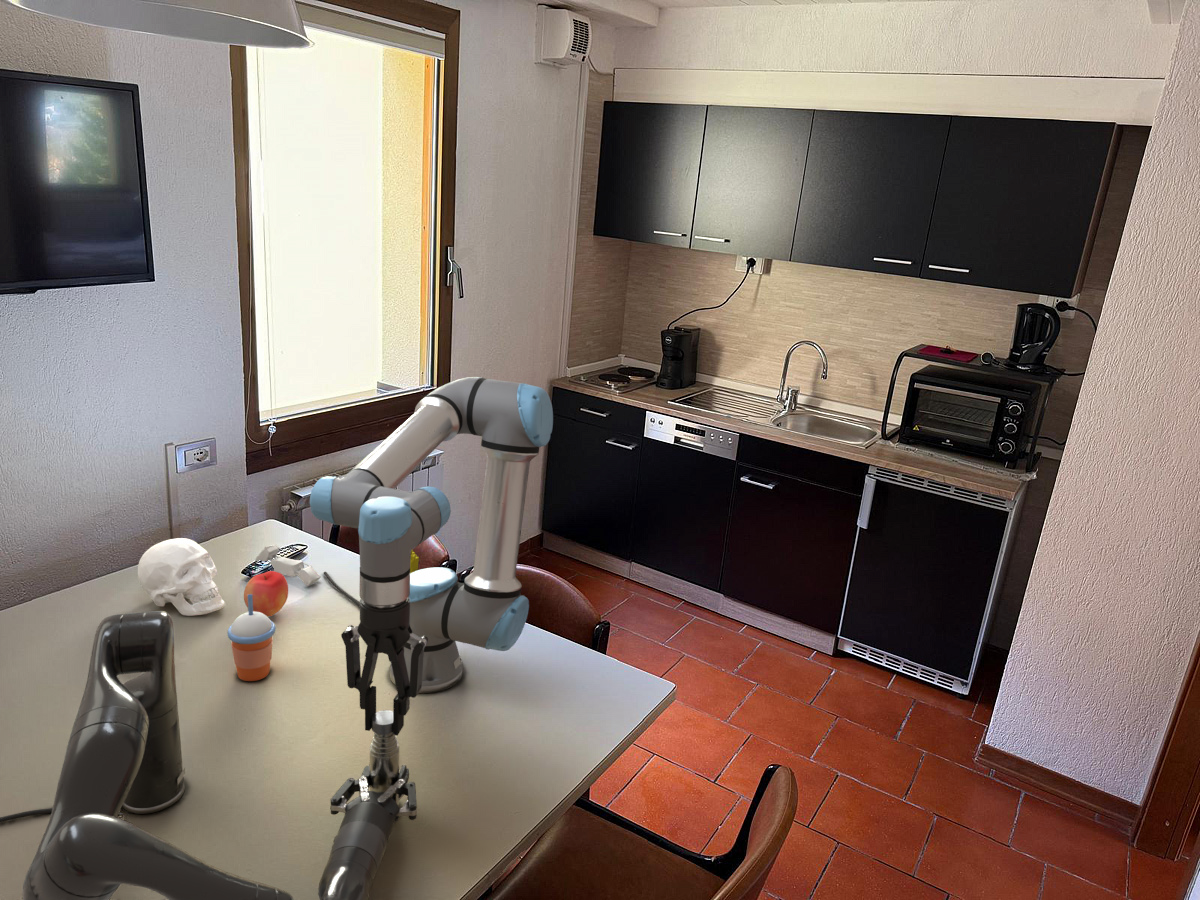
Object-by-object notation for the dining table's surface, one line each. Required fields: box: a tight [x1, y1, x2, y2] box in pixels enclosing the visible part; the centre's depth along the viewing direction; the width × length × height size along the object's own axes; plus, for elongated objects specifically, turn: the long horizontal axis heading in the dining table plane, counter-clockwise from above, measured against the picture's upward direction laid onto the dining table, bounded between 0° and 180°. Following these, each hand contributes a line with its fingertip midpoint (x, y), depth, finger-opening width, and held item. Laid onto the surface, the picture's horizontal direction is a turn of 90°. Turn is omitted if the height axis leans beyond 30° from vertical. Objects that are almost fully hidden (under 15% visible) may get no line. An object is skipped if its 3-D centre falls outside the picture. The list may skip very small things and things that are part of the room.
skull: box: [137, 537, 226, 617], centre depth 200 cm, size 13×22×16 cm, turn 73°
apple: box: [243, 570, 289, 618], centre depth 199 cm, size 10×10×10 cm
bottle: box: [369, 732, 400, 807], centre depth 140 cm, size 5×5×18 cm
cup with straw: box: [226, 594, 276, 682], centre depth 175 cm, size 9×9×18 cm
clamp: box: [254, 544, 322, 587], centre depth 219 cm, size 20×4×7 cm, turn 62°
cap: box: [371, 709, 393, 735], centre depth 138 cm, size 4×4×2 cm
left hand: (388, 768), depth 143 cm, fingers closed on bottle, 4 cm apart
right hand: (384, 727), depth 138 cm, fingers closed on cap, 4 cm apart
